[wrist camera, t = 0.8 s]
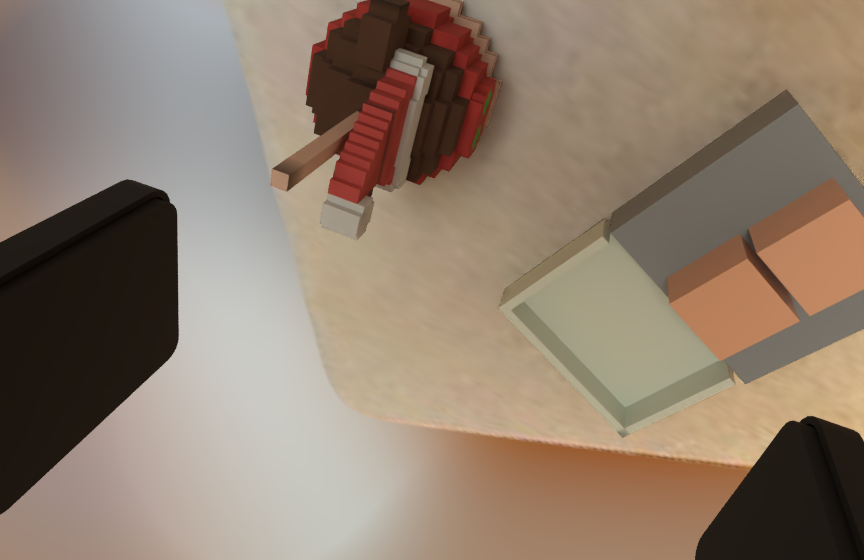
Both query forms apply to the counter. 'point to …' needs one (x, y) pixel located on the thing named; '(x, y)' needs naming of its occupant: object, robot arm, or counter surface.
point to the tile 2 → (815, 246)
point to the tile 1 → (731, 298)
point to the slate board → (743, 217)
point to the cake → (392, 102)
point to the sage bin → (613, 333)
